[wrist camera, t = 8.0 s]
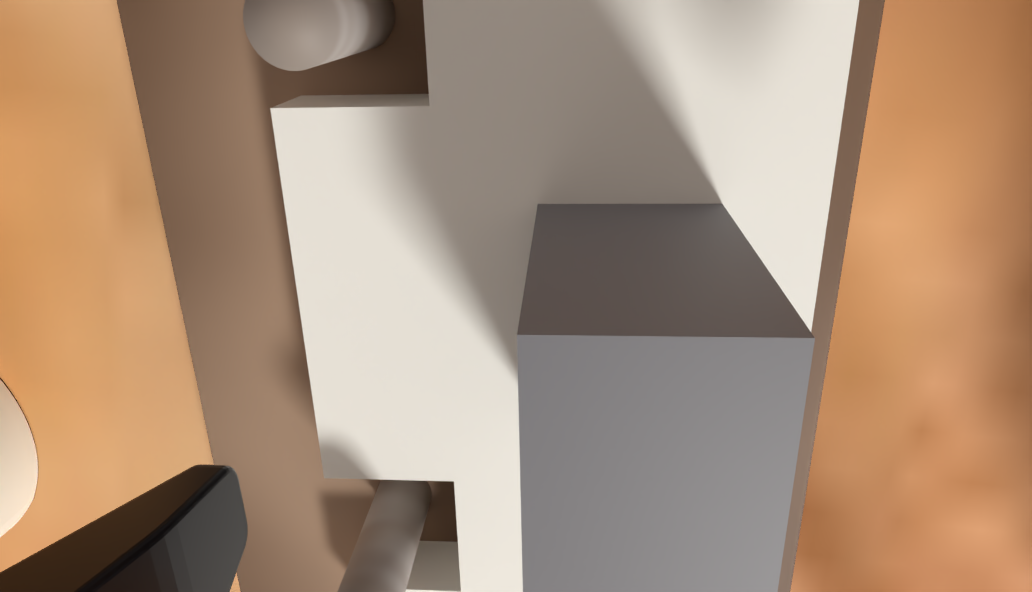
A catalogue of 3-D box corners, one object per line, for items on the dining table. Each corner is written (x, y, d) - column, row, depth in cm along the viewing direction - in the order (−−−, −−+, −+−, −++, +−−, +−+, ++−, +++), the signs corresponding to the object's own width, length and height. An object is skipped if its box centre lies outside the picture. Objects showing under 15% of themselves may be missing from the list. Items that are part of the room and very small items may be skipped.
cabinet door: (854, -217, 11) (1191, -460, 5) (747, 606, 17) (842, 938, 11) (263, -193, 12) (-61, -381, 6) (365, 591, 18) (260, 898, 12)
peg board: (900, -410, 12) (1154, -715, 7) (754, 636, 20) (814, 855, 15) (107, -365, 13) (-206, -601, 8) (286, 616, 21) (195, 817, 16)
